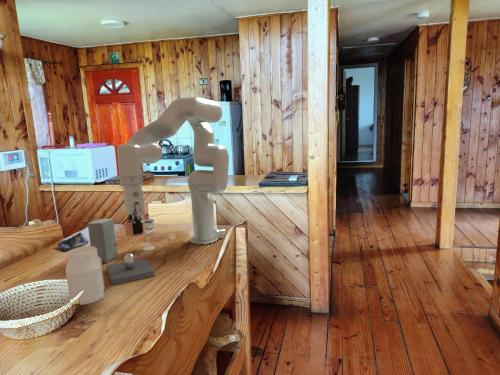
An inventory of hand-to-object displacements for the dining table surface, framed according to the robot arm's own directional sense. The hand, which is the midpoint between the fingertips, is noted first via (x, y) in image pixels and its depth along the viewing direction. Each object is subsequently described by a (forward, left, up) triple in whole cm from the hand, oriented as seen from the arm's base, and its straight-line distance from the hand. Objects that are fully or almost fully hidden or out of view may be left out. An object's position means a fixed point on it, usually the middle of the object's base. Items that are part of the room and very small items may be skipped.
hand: (135, 230), depth 132 cm
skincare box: (+9, -22, -16) cm, 29 cm away
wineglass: (-9, -25, -16) cm, 31 cm away
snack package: (+19, -46, -16) cm, 52 cm away
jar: (+18, +9, -16) cm, 26 cm away
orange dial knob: (0, 0, -1) cm, 1 cm away
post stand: (+3, -2, -16) cm, 16 cm away
